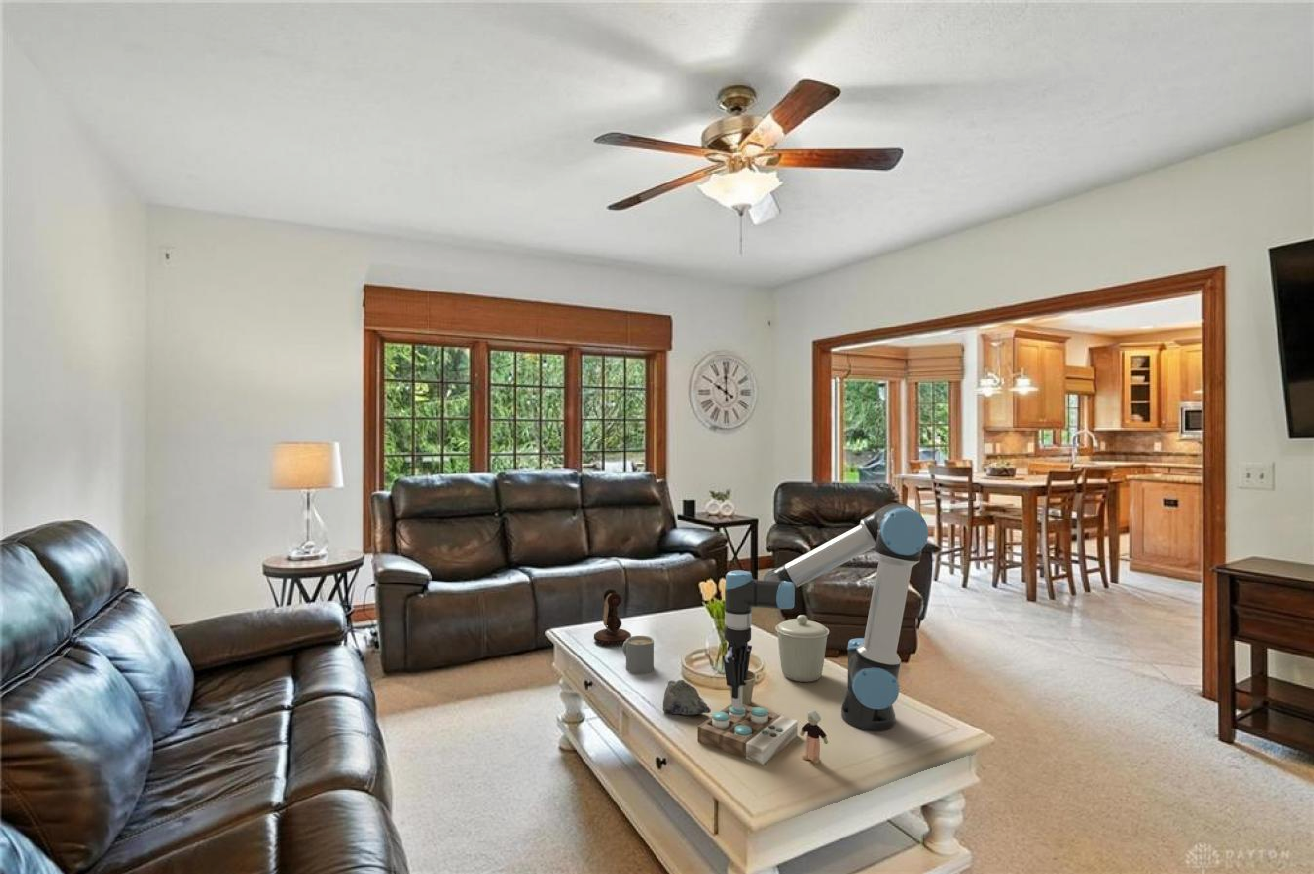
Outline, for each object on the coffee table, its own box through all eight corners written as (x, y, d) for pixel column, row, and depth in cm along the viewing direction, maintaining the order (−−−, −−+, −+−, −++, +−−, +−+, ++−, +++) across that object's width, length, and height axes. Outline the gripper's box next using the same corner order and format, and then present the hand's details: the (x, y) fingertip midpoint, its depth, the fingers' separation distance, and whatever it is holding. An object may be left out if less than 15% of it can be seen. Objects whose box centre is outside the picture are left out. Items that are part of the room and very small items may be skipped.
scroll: (590, 637, 259) (590, 588, 258) (625, 633, 263) (625, 585, 263) (598, 649, 244) (598, 597, 244) (635, 645, 249) (635, 594, 249)
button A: (770, 724, 178) (770, 710, 178) (762, 730, 174) (762, 716, 174) (755, 719, 181) (755, 705, 181) (747, 725, 177) (747, 711, 177)
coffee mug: (659, 669, 224) (659, 641, 224) (635, 675, 218) (635, 646, 218) (638, 658, 235) (639, 631, 235) (615, 663, 229) (615, 636, 229)
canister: (811, 664, 230) (812, 606, 229) (839, 684, 212) (839, 621, 212) (766, 669, 225) (766, 610, 225) (790, 689, 207) (790, 625, 207)
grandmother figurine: (796, 759, 163) (796, 710, 163) (801, 753, 167) (801, 704, 167) (826, 767, 159) (826, 717, 159) (830, 761, 163) (831, 711, 163)
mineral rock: (712, 718, 187) (713, 684, 187) (683, 727, 181) (683, 692, 181) (686, 702, 197) (686, 670, 197) (657, 710, 191) (658, 677, 191)
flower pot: (755, 710, 192) (756, 681, 192) (724, 707, 194) (724, 679, 194) (757, 697, 201) (757, 670, 201) (727, 694, 203) (727, 667, 203)
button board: (797, 735, 176) (797, 720, 176) (763, 765, 161) (763, 748, 160) (734, 715, 189) (734, 701, 189) (697, 741, 173) (697, 725, 173)
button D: (732, 729, 175) (732, 714, 175) (723, 735, 171) (723, 720, 171) (718, 724, 178) (718, 710, 178) (709, 730, 174) (709, 716, 174)
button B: (754, 743, 171) (754, 728, 171) (746, 750, 167) (746, 734, 167) (739, 738, 174) (739, 723, 174) (731, 744, 170) (731, 729, 170)
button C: (748, 722, 182) (748, 708, 182) (740, 728, 179) (740, 714, 178) (734, 717, 185) (734, 704, 185) (726, 723, 181) (726, 709, 181)
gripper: (738, 618, 189) (736, 697, 189) (714, 628, 179) (713, 712, 179) (760, 623, 184) (759, 704, 185) (738, 634, 174) (736, 720, 174)
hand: (736, 708), depth 182 cm, fingers closed
